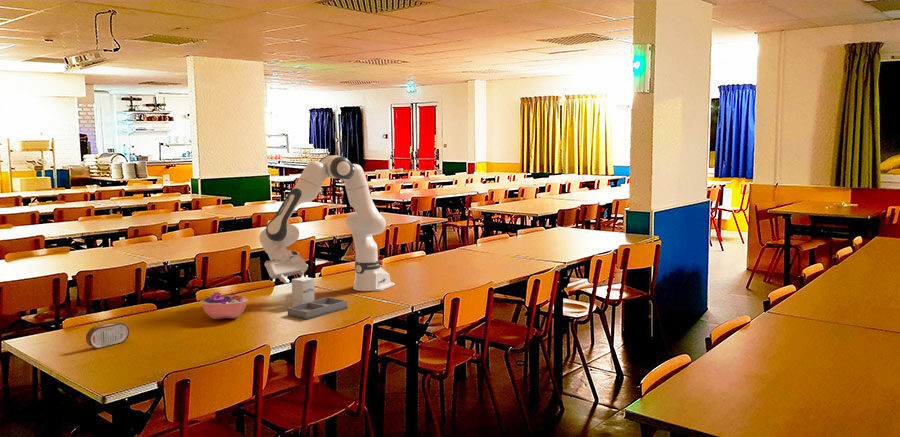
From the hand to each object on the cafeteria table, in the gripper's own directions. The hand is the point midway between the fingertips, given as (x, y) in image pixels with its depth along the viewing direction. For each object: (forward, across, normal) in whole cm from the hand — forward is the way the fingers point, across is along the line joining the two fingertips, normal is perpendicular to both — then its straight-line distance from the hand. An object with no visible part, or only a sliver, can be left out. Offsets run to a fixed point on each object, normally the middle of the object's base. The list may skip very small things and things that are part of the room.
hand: (295, 281), depth 310 cm
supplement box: (+11, 0, +4) cm, 12 cm away
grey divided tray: (+21, -4, -6) cm, 22 cm away
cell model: (+3, -34, +12) cm, 36 cm away
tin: (+2, -82, +14) cm, 83 cm away
